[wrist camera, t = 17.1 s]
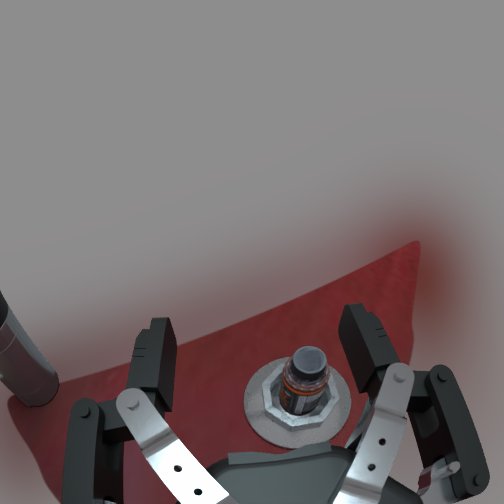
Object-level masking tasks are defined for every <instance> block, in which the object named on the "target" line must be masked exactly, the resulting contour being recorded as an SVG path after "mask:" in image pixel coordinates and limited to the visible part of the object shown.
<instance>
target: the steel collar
mask: <svg viewBox="0 0 504 504" xmlns="http://www.w3.org/2000/svg"><path fill="white" fill-rule="evenodd" d="M289 358H290V357H286V358H281V359H278V360H275V361H272V362H270V363H268V364H267V365H265V366H263V367H262V368H261V369H259V370H258V371H257V372H256V373H255V374H254V375H253V377H252V378H251V380H250V381H249V383H248V385H247V387H246V390H245V394H244V410H245V415H246V418H247V420H248V422H249V424H250V426H251V427H252V429H253V430H254V431H255V432H256V433H257V434H258V435H259V436H260V437H261V438H262V439H264V440H265V441H267V442H269V443H270V444H272V445H275V446H277V447H281V448H285V449H291V450H295V449H297V448H300V447H302V446H305V445H309V444H314V443H320V442H325V441H329V440H330V439H331V438H333V437H334V436H335V435H336V434H337V433H338V432H339V431H340V429H341V428H342V427H343V426H344V424H345V422H346V421H347V418H348V416H349V413H350V408H351V396H350V392H349V389H348V386H347V384H346V382H345V381H344V379H343V378H342V376H341V375H340V374H339V373H338V372H337V371H336V370H335V369H333V368H332V367H331V366H329V365H328V366H329V369H330V376H329V380H328V382H327V385H326V387H325V389H324V392H323V394H322V397H321V399H320V401H319V403H318V405H317V407H316V408H315V409H314V410H313V411H312V412H311V413H309V414H306V415H302V416H297V415H292V414H289V413H288V412H286V411H285V410H284V409H283V408H282V406H281V405H280V401H279V393H280V386H281V379H282V373H283V368H284V365H285V363H286V361H287V360H288V359H289Z"/></svg>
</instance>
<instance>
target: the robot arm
mask: <svg viewBox="0 0 504 504" xmlns="http://www.w3.org/2000/svg"><path fill="white" fill-rule="evenodd" d="M338 333H339V338H340V341H341V343H342V346H343V349H344V351H345V354H346V357H347V360H348V363H349V365H350V368H351V371H352V374H353V377H354V379H355V382H356V385H357V388H358V391H359V394H361V393H365V392H367V393H368V396H369V397H368V399H367V401H366V404H365V406H364V409H363V411H362V414H361V416H360V418H359V421H358V423H357V425H356V428H355V430H354V432H353V433H352V435H351V437H350V438H349V440H348V442H347V443H346V445H345V447H340V446H334V445H330V441H325V442H320V443H314V444H309V445H305V446H302V447H300V448H297V449H295V450H292V451H290V452H287V453H284V454H281V455H277V454H268V453H260V452H242V453H228V458H225V459H222V460H220V461H217V462H216V463H214V464H212V465H211V466H209V467H208V468H207V469H206V470H205V469H204V468H203V467H202V466H201V465H200V464H199V462H198V461H197V460H196V459H195V458H194V457H193V456H192V454H191V453H190V452H189V451H188V450H187V449H186V447H185V446H184V445H183V444H182V443H181V441H180V440H179V439H178V438H177V436H176V435H175V434H174V433H173V431H172V430H171V429H170V427H169V426H168V425H167V424H166V422H165V421H164V419H165V412H172V404H173V390H174V377H175V365H176V355H177V343H176V337H175V334H174V331H173V328H172V325H171V322H170V319H169V318H152V320H151V325H150V329H142V331H141V332H140V334H139V335H138V336H137V338H136V342H135V346H134V350H133V355H132V357H133V358H132V360H131V364H130V369H129V375H128V380H127V385H126V388H125V390H124V391H123V392H121V393H120V395H119V396H118V397H117V398H115V399H113V400H109V401H104V402H100V403H96V402H95V401H94V400H92V399H90V398H82V399H79V400H78V401H76V402H75V403H74V405H73V407H72V409H71V415H70V421H69V427H68V434H67V441H66V449H65V459H64V470H63V485H62V504H124V501H123V456H124V442H125V441H130V440H135V439H136V441H137V442H138V444H139V445H140V447H141V451H142V453H143V455H144V456H145V458H146V459H147V461H148V462H149V463H150V465H151V466H152V467H153V469H154V470H155V472H156V473H157V474H158V475H159V477H160V478H161V479H162V481H163V482H164V483H165V484H166V486H167V487H168V488H169V489H170V491H171V492H172V493H173V494H174V495H175V497H176V498H177V499H178V502H177V503H176V504H452V503H455V502H459V501H461V500H464V499H467V498H470V497H473V496H475V495H478V494H480V493H481V492H483V491H484V490H485V489H486V487H487V485H488V483H489V479H490V475H489V470H488V466H487V463H486V459H485V456H484V453H483V449H482V446H481V443H480V440H479V437H478V434H477V431H476V429H475V426H474V423H473V421H472V418H471V415H470V413H469V410H468V408H467V405H466V402H465V400H464V397H463V395H462V393H461V391H460V389H459V386H458V384H457V381H456V379H455V377H454V375H453V373H452V371H451V370H450V369H449V368H448V367H447V366H444V365H436V366H434V367H433V368H432V369H431V370H430V371H413V370H412V369H411V368H410V367H409V366H408V365H406V364H404V363H401V362H400V360H399V358H398V356H397V354H396V352H395V350H394V348H393V346H392V343H391V341H390V339H389V337H387V333H386V331H385V330H384V327H383V326H382V324H381V322H380V320H379V319H378V318H377V317H376V316H375V315H374V314H373V313H372V312H369V313H367V312H366V310H365V308H364V306H363V304H362V303H354V304H347V305H345V306H344V310H343V313H342V316H341V320H340V323H339V327H338ZM0 380H1V382H2V383H3V384H4V385H5V386H6V387H7V388H8V389H9V390H11V392H12V393H13V394H15V395H16V396H17V397H18V398H19V399H20V400H21V401H22V402H23V403H24V404H25V405H26V406H28V407H31V406H33V405H34V406H41V405H44V404H46V403H48V402H49V401H50V400H51V399H52V398H53V397H54V396H55V394H56V392H57V389H58V386H59V379H58V375H57V373H56V371H55V370H54V369H53V367H52V366H51V365H50V363H49V362H48V361H47V360H46V359H45V357H44V356H43V355H42V354H41V352H40V351H39V350H38V348H37V347H36V346H35V344H34V343H33V342H32V340H31V339H30V338H29V336H28V335H27V333H26V332H25V330H24V329H23V328H22V326H21V324H20V323H19V322H18V320H17V318H16V317H15V315H14V314H13V312H12V310H11V309H10V307H9V306H8V304H7V302H6V300H5V299H4V297H3V295H2V293H1V291H0ZM406 412H408V415H409V418H410V421H411V425H412V428H413V431H414V435H415V438H416V442H417V445H418V449H419V452H420V456H421V460H422V463H423V467H424V470H423V471H422V472H421V474H420V477H419V481H418V485H419V489H418V491H417V493H415V492H414V491H412V490H410V489H409V488H407V487H405V486H404V485H402V484H401V483H399V482H397V481H396V480H394V479H393V478H391V477H390V476H388V474H389V472H390V470H391V467H392V464H393V462H394V459H395V457H396V454H397V451H398V448H399V445H400V443H401V440H402V437H403V434H404V430H405V427H406V424H407V419H406V418H405V413H406Z"/></svg>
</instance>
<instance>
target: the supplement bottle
mask: <svg viewBox="0 0 504 504" xmlns="http://www.w3.org/2000/svg"><path fill="white" fill-rule="evenodd" d="M329 376H330V369H329V366H328V364H327V362H326V356H325V354H324V353H323V351H322V350H320V349H318V348H316V347H312V346H306V347H302V348H300V349H298V350H297V351H296V352H295V354H294V355H293V356H292V357H290V358H289V359H288V360H287V361H286V363H285V365H284V368H283V373H282V379H281V386H280V393H279V401H280V405H281V406H282V408H283V409H284V410H285V411H286V412H288V413H289V414H292V415H297V416H302V415H306V414H309V413H311V412H312V411H313V410H314V409H315V408H316V407H317V405H318V403H319V401H320V399H321V397H322V394H323V392H324V389H325V387H326V385H327V382H328V380H329Z"/></svg>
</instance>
